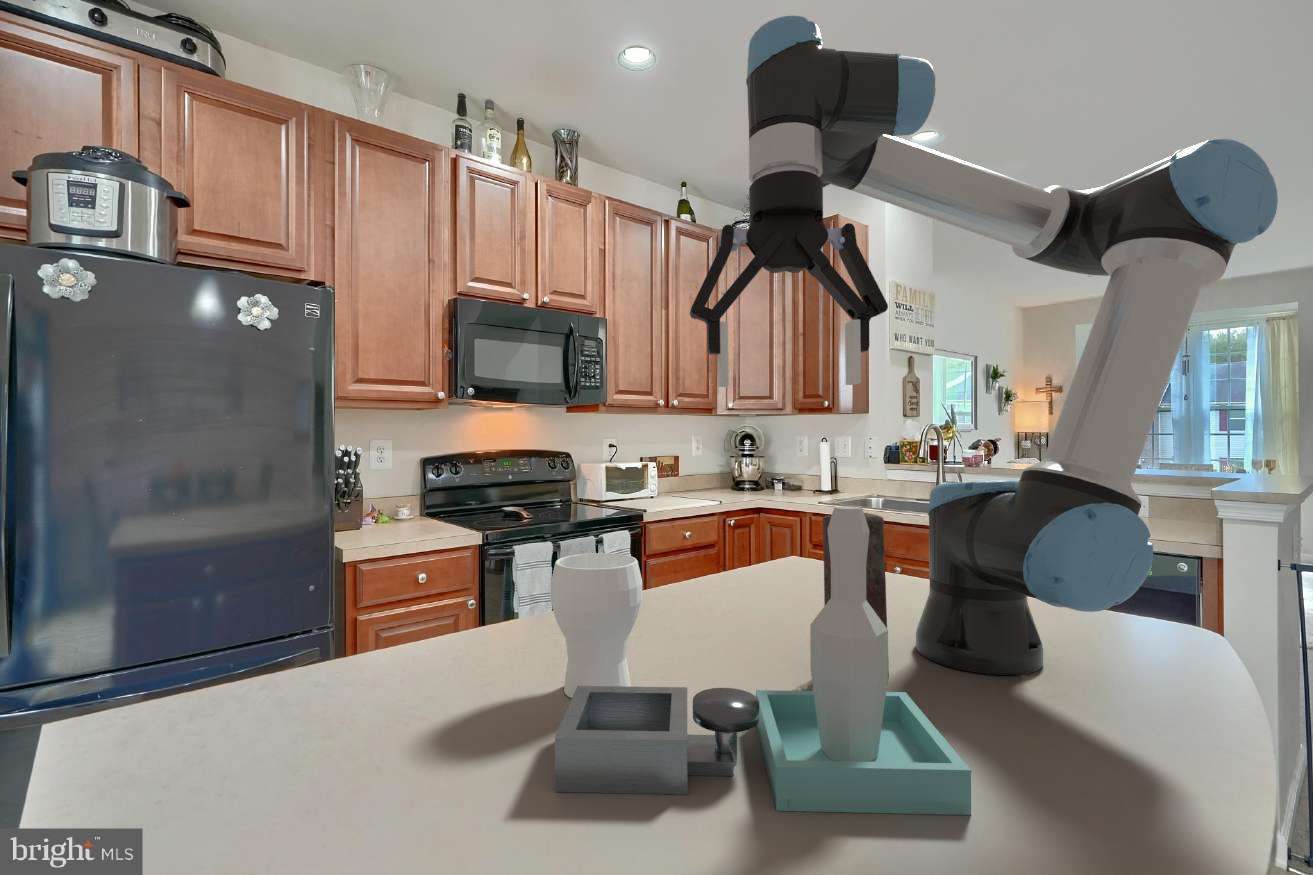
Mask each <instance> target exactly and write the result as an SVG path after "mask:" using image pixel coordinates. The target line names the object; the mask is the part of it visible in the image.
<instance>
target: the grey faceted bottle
mask: <svg viewBox="0 0 1313 875" xmlns="http://www.w3.org/2000/svg"><path fill="white" fill-rule="evenodd" d="M864 513H865V512H864V508H863V507H859V506H851V505H850V506H848V505H845V506H844V505H843V506H839V505H838V506H834V507H833V510H832V513H831V515H830V516H831V519H830V522H829V526H828V529H827V531H828V541H829V550H830V560H831V599H830V600H829V601H828V602H827V604H826V605H825V606H823V608H822V609H821V610H820V611H819V612H818V614H817V615H816V616H815V618H814V619H813V620H812V622H810V624H809V625H810V631H809V633H810V636H809V637H810V643H809V644H810V645H809V646H810V675H811V682H812V683H811V684H812V691H813V692H814V700H815V707H816V715H817V723H818V730H819V738H820V746H821V750H822V751H823V752H824V753H825V754H826V755H827V756H828V757H829V758H830V759H832V760H834V761H854V762H872V761H873V760H874V759H875V758H876V757H877V756H878V750H879V743H880V735H881V728H882V720H883V712H884V705H885V697H886V692H887V690H888V689H887V688H888V680H889V678H888V658H889V629H888V627H887V628H886V626H885V625H884V624H883V622H882V621H881V620H880V618H879V617H878V616H877V614H876V613H875V611H874V610H873V609H872V607H871V606H870V605H869V603H868V602H867V600H866V561H867V551H868V541H869V528H868V524H867V521H866V518H865V515H864Z"/></svg>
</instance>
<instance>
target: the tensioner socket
mask: <svg viewBox="0 0 1313 875" xmlns="http://www.w3.org/2000/svg"><path fill="white" fill-rule="evenodd" d="M570 699H571V700H570V701H569V704H568V707H567V709H566V712H565V713H564V716H563V717H562V720H561V723H560V725H559V727H558V730H557V731H556V734H555V737H554V792H555V793H585V794H586V793H592V794H593V793H594V794H595V793H596V794H601V793H602V794H604V793H605V794H637V795H638V794H639V795H640V794H641V795H644V794H645V795H647V794H649V795H653V794H654V795H682V796H683V795H687V796H688V776H703V777H705V776H706V777H707V776H708V777H709V776H710V777H711V776H713V777H734V776H735V775H734V773H735V772H734V768H735V766H736V765H737V763H738V733H742V732H746V731H750V730H752V729H753V728H755V727H757V726H756V725H757V724H758V723H759V700H758V698H757V697H756V695H754V694H753V693H751V692H749V691H747V690H743V689H739V688H733V687H732V688H731V687H714V688H708V689H705V690H702V691H699V692H697V693H696V694H695V695H694V696H693V698H692V719H693V722H694V723H695V724H696V725H697V726H699V727H700V728H703V729H706V730H708V731H711V732H714V734H688V687H687V686H686V687H685V686H682V687H681V686H677V687H676V686H631V687H622V686H577V688H576V690H575V693H574V695H573V697H572V698H570Z"/></svg>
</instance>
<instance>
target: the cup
mask: <svg viewBox="0 0 1313 875" xmlns="http://www.w3.org/2000/svg"><path fill="white" fill-rule="evenodd" d="M552 572H553V573H552V576H551V582H550V603H551V607H552V611H553V614H554V618H555V621H556V623H557V626H558V628H559V630H560V632H561V633H562V635H563V636H564V639H565V644H566V653H567V663H566V669H565V676H564V684H563V692H564V694H565V695H566V696H567V697H568V698H570V699H572V697H573V695H574V693H575V690H576V688H577V686H622V687H632V686H631V679H630V677H631V676H630V673H629V672H630V671H629V666H628V660H627V652H628V645H629V636H630V634H631V632H632V630H633V628H634V626H635V623H636V622H637V619H638V616H639V612H640V608H641V604H642V601H643V579H642V574H641V570H640V566H639V561H638V560H637V558H636V557H633V556H632V555H627V554H622V553H607V552H606V553H605V552H601V553H600V552H598V553H597V552H595V553H580V554H573V555H567V556H564V557H561V558H558V559H557V560H556V561H555V563H554V567H553V571H552Z"/></svg>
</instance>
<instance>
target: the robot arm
mask: <svg viewBox="0 0 1313 875" xmlns="http://www.w3.org/2000/svg"><path fill="white" fill-rule="evenodd" d="M747 54H748V55H747V70H746V72H747V74H746V75H747V76H746V78H745V81H746V82H745V84H746V86H747V88H746V89H747V111H748V112H747V113H748V119H747V120H748V178H749V179H748V180H749V181H750V183H751V185H750V186H749V189H748V195H749V196H748V199H749V200H748V203H749V205H748V206H749V226H748V229H747V230H746V229H737V228H734V227H733V225H731V224H725V225H724V226H723V227H722V229H721V231H720V235H719V242H718V251H717V253H716V255H715V257H714V259H713V261H712V264H711V265H710V268H709V270H708V272H707V274H706V276H705V278H704V280H703V283H702V284H701V286H700V288H699V291H698V293H697V294H696V297H695V299H694V301H693V303H692V305H691V308H690V310H689V316H690V318H691V319H693V320H699V321H701V322H703V323H704V324H705V325H706V328H707V329H706V330H707V331H706V332H707V333H706V334H707V335H706V336H707V352H708V355H710V356H711V355H713V356H714V355H715V356H716V355H717V370H718V371H717V373H718V374H717V375H718V377H717V379H718V380H717V381H718V383H717V385H718V388H725V387H728V386H729V384H730V382H729V377H730V376H729V331H728V329H729V327H728V326H729V322H728V321H727V320H726V321H725V320H724V321H721V319H722V317H723V316H724V315H725V314H726V312H727V311H728V310H729V309H730V308H731V306H732V305H733V304H734V303H735V301H736V300H737V299H738V297H739V296H740V295H742V293H743V292H744V290H745V289H746V288H747V287H748V285H749V284H750V283H751V282H752V281H753V279H754V278H755V277H756V276H757V275H758V273H759V272H760V271H761V270H762V268H763V269H764V270H766V271H768V272H769V274H778V273H779V274H780V273H781V272H782V273H783V272H788V273H792V274H797V273H798V274H799V273H801V271H802V272H803V271H805V270H806V271H807V273H809V275H811V276H812V277H813V278H815V279H816V280H817V281H818V282H819V284H821V286H822V287H823V288H824V289H825V290H826V292H827V293H828V294H829V295H830V296H831V297H832V298H833V300H834V301H835V302H836V303H837V304H838V305H839V307H840V308H841V309H842V310H843V311H844V312H845V313H846V314H847V315H848V317H849V318H850V319H851V320H850V321H848V322H845V323H844V350H845V352H844V353H845V355H844V357H845V360H844V361H845V365H844V366H845V386H854V385H858V384H861V383H862V359H861V358H862V356H861V354H862V353H866V352H867V351H869V348H870V344H871V343H870V321H871V320H872V318H874V317H877V316H880V315H882V314H884V313H885V312H886V311H888V309H889V308H888V307H889V304H888V302H887V301H886V299H885V296H884V294H883V293H882V290H881V289H880V287H879V284H878V282H877V281H876V279H875V277H874V275H873V272H872V271H871V268H870V267H869V265H868V263H867V262H866V259H865V258H864V255H863V253H862V251H861V249H860V248H859V246H858V242H857V234H856V228H855V226H854V224H852V223H851V222H850V223H846V224H844V225H843V226H842V227H835V228H827V227H826V224H825V223H824V194H823V193H824V190H823V189H824V188H825V187H827V186H829V185H833V186H836V187H839V188H842V189H845V190H848V191H849V190H850V191H852V192H856V193H858V194H861V195H863V196H867V197H870V198H873V199H876V200H878V201H881V202H883V203H884V202H885V203H887V204H890V205H893V206H895V207H898V208H902V209H903V210H904V209H905V210H908V211H910V212H913V213H917V214H920V215H922V216H925V217H927V218H930V219H934V220H937V221H940V222H942V223H946V224H948V225H950V226H954V227H956V228H959V229H963V230H965V231H968V232H971V233H974V234H978V235H980V236H983V237H986V238H988V239H991V240H994V241H997V242H1001V243H1003V244H1006V245H1008V246H1011V249H1012V252H1013V254H1014V255H1016V256H1017V257H1019V258H1022V259H1024V260H1028V261H1030V262H1033V263H1036V264H1039V265H1043V266H1046V267H1050V268H1053V269H1057V270H1061V271H1066V272H1070V273H1077V274H1081V275H1082V274H1083V275H1088V276H1103V277H1105V276H1107V277H1110V278H1109V280H1108V283H1107V286H1106V287H1105V291H1104V293H1103V296H1102V299H1101V302H1100V304H1099V307H1098V310H1097V314H1096V316H1095V318H1094V321H1093V324H1092V327H1091V329H1090V332H1089V335H1088V338H1087V340H1086V343H1085V346H1084V347H1083V351H1082V354H1081V356H1080V358H1079V359H1080V360H1079V361H1078V364H1077V367H1076V370H1075V373H1074V376H1073V378H1072V381H1071V383H1070V385H1069V389H1068V392H1067V395H1066V397H1065V400H1064V402H1063V405H1062V408H1061V411H1060V414H1059V416H1058V418H1057V421H1056V425H1055V426H1054V430H1053V432H1052V435H1051V437H1050V440H1049V443H1048V446H1047V448H1046V452H1045V454H1044V456H1043V459H1042V460H1041V461H1039V462H1037V463H1035V464H1032V465H1030V466H1028V467H1026V468H1024V469H1023V471H1022V474H1021V476H1020V478H1019V480H982V481H981V480H980V481H963V482H962V481H960V482H949V483H939V484H937V485H935V486H933V488H932V489H931V491H930V493H929V502H928V510H927V515H928V533H929V534H928V538H929V539H928V545H929V547H928V551H929V554H928V556H929V557H928V558H929V559H928V560H929V561H928V562H929V564H928V567H929V590H928V596H927V599H926V602H925V605H924V607H923V611H922V612H921V613H922V614H921V616H920V618H919V621H918V625H917V627H916V632H915V650H916V651H917V652H918V653H919V654H920V655H921V656H923V657H924V658H926V659H928V660H930V661H931V662H934V663H937V664H940V665H943V666H946V667H949V668H952V669H957V670H962V671H967V672H970V673H971V672H972V673H978V674H979V673H980V674H986V675H996V676H997V675H999V676H1000V675H1001V676H1002V675H1003V676H1007V675H1008V676H1010V675H1012V676H1014V675H1015V676H1016V675H1024V674H1025V675H1026V674H1029V673H1035V672H1037V671H1039V670H1040V669H1042V668H1043V666H1044V646H1043V643H1042V640H1041V638H1040V634H1039V631H1038V629H1037V625H1036V623H1035V620H1034V617H1033V615H1032V612H1031V609H1030V606H1029V603H1028V597H1031V598H1033V599H1037V600H1038V601H1041V602H1042V603H1046V604H1048V605H1050V606H1052V607H1056V608H1065V609H1070V610H1074V611H1077V612H1083V613H1084V612H1085V613H1093V612H1102V611H1106V610H1108V609H1110V608H1111V607H1114V606H1118V605H1120V604H1122V603H1124V602H1126V601H1127V600H1128V599H1130V598H1131V597H1132V596H1134V595H1135V593H1136V592H1137V591H1138V590H1139V589H1140V587H1141V586H1142V585H1143V583H1144V582H1145V581H1146V579H1147V577H1148V576H1149V572H1150V570H1151V568H1152V563H1153V558H1154V545H1153V543H1151V542H1149V540H1150V538H1151V536H1152V535H1151V532H1150V529H1149V528H1148V526H1147V524H1146V522H1145V521H1144V520H1143V519H1142V518H1141V517H1140V516H1139V514H1140V511H1141V508H1142V506H1143V505H1142V502H1143V501H1142V500H1141V499H1140V497H1139V496H1138V494H1137V493H1136V491H1135V490H1134V489H1133V485H1132V481H1133V479H1134V477H1135V474H1136V472H1137V468H1138V466H1139V465H1138V464H1139V462H1140V459H1141V456H1142V454H1143V451H1144V449H1145V445H1146V442H1147V440H1148V437H1149V435H1150V432H1151V429H1152V427H1153V423H1154V420H1155V418H1156V414H1157V412H1158V409H1159V407H1160V403H1161V401H1162V398H1163V395H1164V393H1165V390H1166V387H1167V384H1168V381H1169V378H1170V375H1171V373H1172V371H1173V367H1174V364H1175V362H1176V359H1177V356H1178V354H1179V351H1180V348H1181V345H1182V342H1183V340H1184V337H1185V334H1186V331H1187V329H1188V325H1189V322H1190V321H1191V317H1192V314H1193V311H1194V309H1195V307H1196V303H1197V301H1198V297H1199V295H1200V292H1201V289H1202V288H1204V287H1207V286H1209V285H1211V284H1213V283H1215V282H1217V281H1219V280H1220V279H1222V277H1223V276H1224V274H1225V272H1226V270H1227V268H1228V264H1229V261H1230V259H1231V256H1232V253H1233V251H1234V248H1235V246H1236V245H1237V244H1244V243H1247V242H1250V241H1253V240H1254V239H1255V238H1256V237H1258V236H1260V235H1262V234H1264V233H1265V232H1266V231H1267V230H1268V229H1269V227H1271V225H1272V223H1273V221H1274V219H1275V217H1276V214H1277V209H1278V203H1279V202H1278V201H1279V199H1278V190H1277V185H1276V181H1275V179H1274V175H1272V173H1271V171H1270V168H1269V167H1268V165H1267V163H1266V162H1265V161H1264V159H1263V158H1262V157H1261V156H1260V155H1259V154H1258V153H1257V152H1256V151H1255V150H1254V149H1252V148H1251V147H1250V146H1248V145H1246V144H1245V143H1243V142H1240V141H1238V140H1234V139H1229V138H1213V139H1209V140H1205V141H1203V142H1201V143H1197V144H1196V145H1192V146H1190V147H1184V148H1180V149H1179V150H1177V151H1175V152H1174V153H1173V154H1172V155H1170V156H1168V157H1166V158H1164V159H1162V160H1160V161H1156V162H1154V163H1153V164H1151V165H1148V166H1146V167H1143V168H1141V169H1139V170H1136V171H1135V172H1132V173H1130V174H1128V175H1126V176H1124V177H1121V178H1119V179H1117V180H1115V181H1113V182H1110V183H1107V184H1104V185H1103V186H1099V187H1095V188H1091V189H1084V190H1083V189H1081V190H1077V189H1075V190H1073V189H1071V188H1070V189H1069V188H1067V187H1066V186H1062V185H1057V184H1054V185H1049V186H1047V187H1045V188H1041V187H1039V186H1035V185H1033V184H1029V183H1027V182H1024V181H1021V180H1018V179H1015V178H1013V177H1009V176H1007V175H1004V174H1002V173H998V172H995V171H993V170H989V169H988V168H985V167H981V166H979V165H975V164H974V163H973V164H972V163H970V162H967V161H965V160H961V159H959V158H956V157H953V156H951V155H948V154H945V153H941V152H940V151H936V150H934V149H931V148H928V147H925V146H923V145H919V144H917V143H913V142H911V141H908V140H905V139H903V138H899V137H897V136H910V135H913V134H915V133H916V132H918V131H919V130H920V129H921V128H922V127H923V126H924V124H925V122H926V121H927V120H928V117H929V116H930V113H931V111H932V108H933V105H934V101H935V96H936V91H937V90H936V73H935V70H934V68H933V66H932V63H930V62H929V61H928V60H926V59H924V58H920V57H919V58H918V57H912V56H905V55H901V54H900V53H883V52H881V53H880V52H864V51H851V50H836V49H835V48H826V47H823V39H822V36H821V30H820V28H819V26H818V25H817V24H816V22H814V21H813V20H812V21H809V19H808V18H807V17H805V16H802V15H801V16H800V15H785V16H780V17H776V18H774V19H771V20H769V21H767V22H765V23H764V24H762V25H761V26H760V27H758V29H756V31H755V32H754V33H753V35H752V37H751V38H750V41H749V45H748V53H747ZM826 242H828V243H830V244H831V246H832V248H833V249H834V250H835V251H837V252H838V255H839V257H840V259H841V261H842V264H843V265H844V268H845V270H846V272H847V273H848V275H849V277H850V279H851V281H852V283H853V286H854V287H855V289H856V291H857V293H858V294H857V293H856V292H855V291H854V290H853V289H852V287H851V286H850V285H849V284H848V283H847V282H846V281H845V279H844V278H843V277H842V276H841V275H840V274H839V273H838V272H837V270H836V269H835V268H834V266H832V264H831V262H830V259H829V258H828V257H827V256H826V254H825V253H824V252H823V251H822V248H823V247H824V246H825V244H826ZM742 243H745V245H746V246H747V248H748V249H749V251H751V253H752V254H753V258H752V259H751V261H750V262H749V263H748V264H747V266H746V267H745V268H744V270H742V271H741V273H740V275H739V276H738V277H737V278H736V279H735V280H734V282H733V283H732V284H731V285H730V287H729V288H728V289H727V290H726V292H725V293H724V294H723V295H722V297H720V299H719V300H718V301H717V302H716V304H715V305H714V306H713V307H712V308H709V307H707V303H708V301H709V299H710V297H711V295H712V294H713V291H714V288H715V286H716V285H717V282H718V280H719V278H720V276H721V274H722V272H723V270H724V268H725V265H726V263H727V262H728V259H729V257H730V255H731V252H736V251H737V250H738V249H739V246H740V244H742ZM858 295H859V296H858Z"/></svg>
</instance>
